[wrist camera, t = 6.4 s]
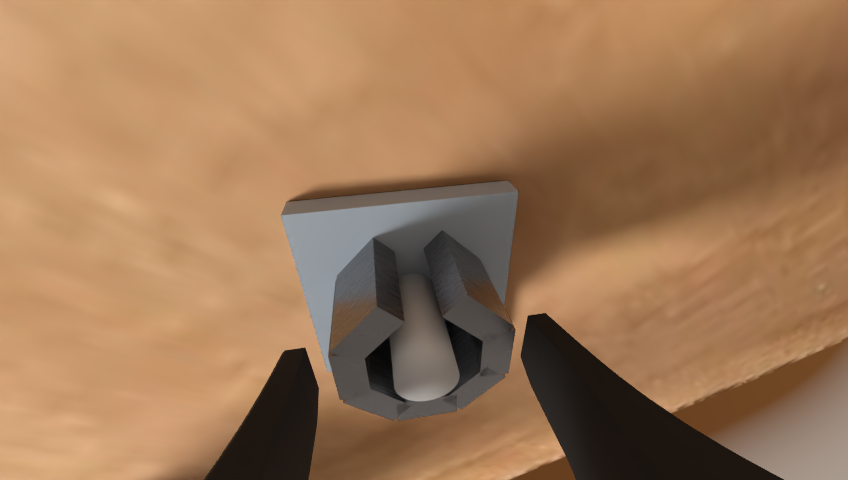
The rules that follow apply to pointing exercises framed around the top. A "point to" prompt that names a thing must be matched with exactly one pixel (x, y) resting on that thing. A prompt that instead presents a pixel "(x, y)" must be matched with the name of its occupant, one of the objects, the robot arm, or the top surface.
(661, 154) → the top surface
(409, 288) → the post stand
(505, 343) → the snap ring
